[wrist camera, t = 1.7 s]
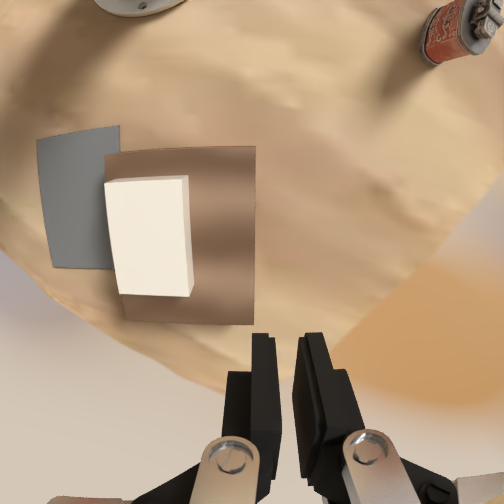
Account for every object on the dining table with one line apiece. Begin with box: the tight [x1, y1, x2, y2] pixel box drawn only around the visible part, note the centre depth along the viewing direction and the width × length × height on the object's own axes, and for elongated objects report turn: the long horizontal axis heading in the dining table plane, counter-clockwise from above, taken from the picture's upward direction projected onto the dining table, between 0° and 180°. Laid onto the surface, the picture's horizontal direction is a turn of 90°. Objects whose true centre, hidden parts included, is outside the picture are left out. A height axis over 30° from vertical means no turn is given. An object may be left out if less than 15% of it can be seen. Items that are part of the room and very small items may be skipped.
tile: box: [104, 175, 194, 297], centre depth 23 cm, size 9×6×2 cm, turn 0°
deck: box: [104, 146, 256, 325], centre depth 27 cm, size 15×12×4 cm
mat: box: [37, 126, 120, 269], centre depth 27 cm, size 14×10×1 cm
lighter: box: [419, 0, 504, 66], centre depth 16 cm, size 8×3×10 cm, turn 155°
